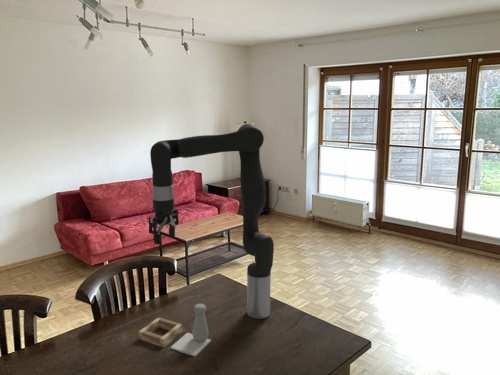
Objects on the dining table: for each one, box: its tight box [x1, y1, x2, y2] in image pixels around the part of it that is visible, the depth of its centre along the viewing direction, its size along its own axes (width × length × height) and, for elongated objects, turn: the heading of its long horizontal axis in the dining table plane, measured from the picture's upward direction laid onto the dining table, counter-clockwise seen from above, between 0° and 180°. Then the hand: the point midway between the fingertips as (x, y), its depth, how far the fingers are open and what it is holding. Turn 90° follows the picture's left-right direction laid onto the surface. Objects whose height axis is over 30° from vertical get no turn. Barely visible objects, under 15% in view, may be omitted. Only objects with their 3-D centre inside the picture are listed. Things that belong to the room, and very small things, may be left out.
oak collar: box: [138, 316, 184, 348], centre depth 143 cm, size 11×11×3 cm
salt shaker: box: [191, 303, 210, 343], centre depth 139 cm, size 6×6×13 cm
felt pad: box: [170, 332, 212, 357], centre depth 138 cm, size 10×10×1 cm
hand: (164, 240), depth 145 cm, fingers open, 8 cm apart
